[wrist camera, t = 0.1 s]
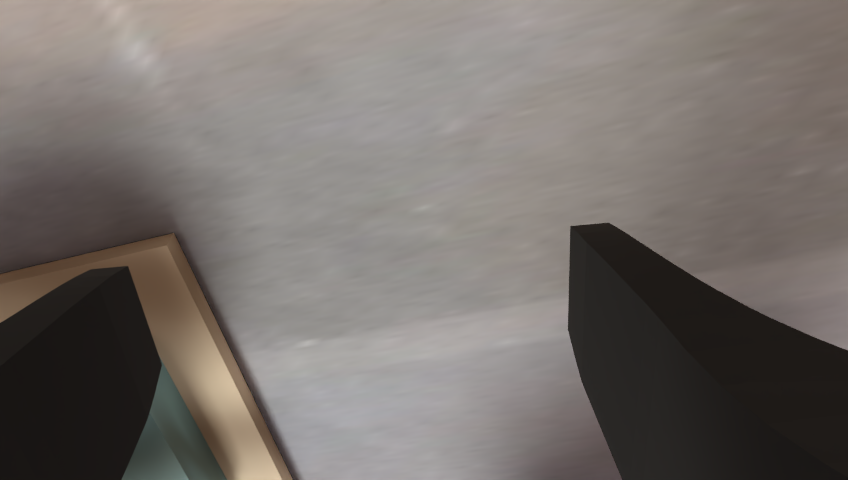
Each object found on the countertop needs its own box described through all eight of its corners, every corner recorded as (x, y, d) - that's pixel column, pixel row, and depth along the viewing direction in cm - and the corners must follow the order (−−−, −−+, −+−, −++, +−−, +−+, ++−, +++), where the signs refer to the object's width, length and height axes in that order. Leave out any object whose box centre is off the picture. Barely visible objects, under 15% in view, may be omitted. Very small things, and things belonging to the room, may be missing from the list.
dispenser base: (311, 518, 29) (303, 579, 26) (45, 569, 30) (13, 633, 27) (173, 233, 22) (145, 280, 19) (-164, 312, 23) (-231, 366, 20)
